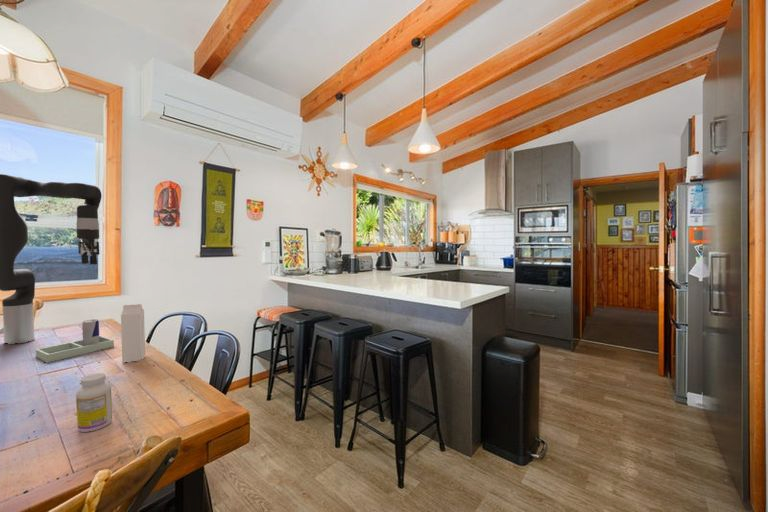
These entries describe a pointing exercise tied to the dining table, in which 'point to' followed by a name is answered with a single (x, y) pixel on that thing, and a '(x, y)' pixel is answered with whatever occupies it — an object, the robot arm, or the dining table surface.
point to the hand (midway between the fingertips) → (89, 263)
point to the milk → (132, 333)
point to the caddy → (71, 349)
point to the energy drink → (90, 332)
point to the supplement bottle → (93, 403)
